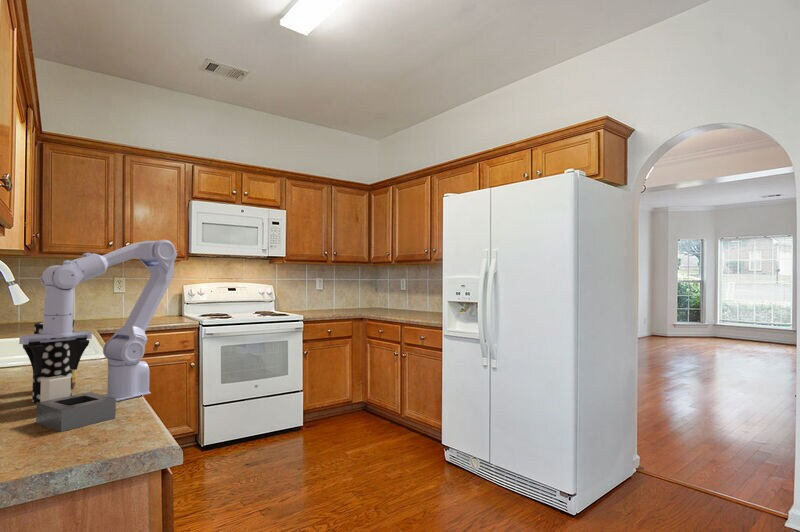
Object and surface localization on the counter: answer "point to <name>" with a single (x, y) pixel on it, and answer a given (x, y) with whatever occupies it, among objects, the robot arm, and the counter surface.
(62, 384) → the ivory block
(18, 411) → the counter surface
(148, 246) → the robot arm
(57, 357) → the spotted tube
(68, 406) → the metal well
